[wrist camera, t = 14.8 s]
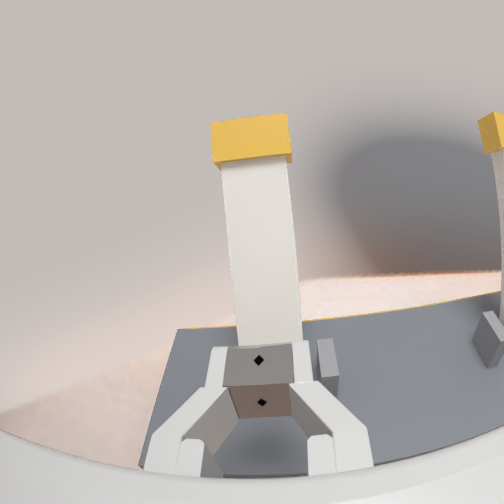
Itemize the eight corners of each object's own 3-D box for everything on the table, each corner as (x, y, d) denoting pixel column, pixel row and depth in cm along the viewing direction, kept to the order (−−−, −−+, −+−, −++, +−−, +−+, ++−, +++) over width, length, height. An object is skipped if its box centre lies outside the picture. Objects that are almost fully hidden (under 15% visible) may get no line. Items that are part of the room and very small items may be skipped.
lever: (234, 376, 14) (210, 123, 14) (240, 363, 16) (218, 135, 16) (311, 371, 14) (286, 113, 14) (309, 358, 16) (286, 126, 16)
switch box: (177, 498, 15) (117, 445, 11) (200, 379, 24) (169, 300, 20) (560, 420, 12) (616, 345, 8) (513, 334, 21) (543, 257, 17)
